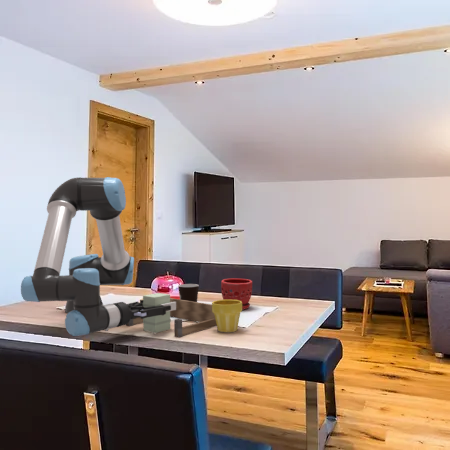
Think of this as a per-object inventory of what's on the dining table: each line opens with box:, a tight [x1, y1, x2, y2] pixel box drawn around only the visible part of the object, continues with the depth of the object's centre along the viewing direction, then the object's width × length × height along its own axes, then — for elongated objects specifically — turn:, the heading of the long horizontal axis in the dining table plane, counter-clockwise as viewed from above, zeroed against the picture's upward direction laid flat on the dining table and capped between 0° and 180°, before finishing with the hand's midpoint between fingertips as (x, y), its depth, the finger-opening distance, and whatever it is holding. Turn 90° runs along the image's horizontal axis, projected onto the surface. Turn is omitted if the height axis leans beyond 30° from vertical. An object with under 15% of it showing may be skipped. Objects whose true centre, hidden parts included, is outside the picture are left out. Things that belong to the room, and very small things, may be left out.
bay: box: [126, 297, 217, 338], centre depth 165 cm, size 27×21×7 cm
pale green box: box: [142, 292, 172, 334], centre depth 159 cm, size 6×7×12 cm
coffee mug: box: [177, 283, 200, 302], centre depth 194 cm, size 12×9×10 cm
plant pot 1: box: [220, 277, 253, 311], centre depth 194 cm, size 13×13×12 cm
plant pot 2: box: [211, 299, 243, 333], centre depth 157 cm, size 10×10×10 cm
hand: (166, 304), depth 162 cm, fingers open, 8 cm apart
